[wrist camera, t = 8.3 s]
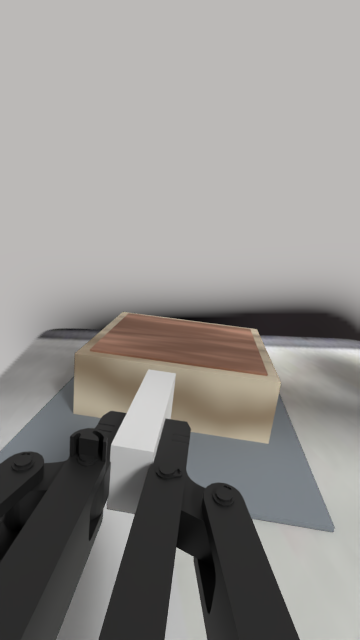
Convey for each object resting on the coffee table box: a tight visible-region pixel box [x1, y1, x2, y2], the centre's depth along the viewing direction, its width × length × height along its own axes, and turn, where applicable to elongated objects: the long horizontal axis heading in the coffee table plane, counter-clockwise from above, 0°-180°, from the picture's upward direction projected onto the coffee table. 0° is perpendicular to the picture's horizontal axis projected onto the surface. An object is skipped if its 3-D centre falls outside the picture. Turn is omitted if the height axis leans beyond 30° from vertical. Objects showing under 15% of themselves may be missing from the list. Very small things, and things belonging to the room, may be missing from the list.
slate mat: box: [0, 377, 335, 532], centre depth 36 cm, size 28×24×1 cm
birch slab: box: [73, 312, 281, 444], centre depth 37 cm, size 6×18×16 cm
